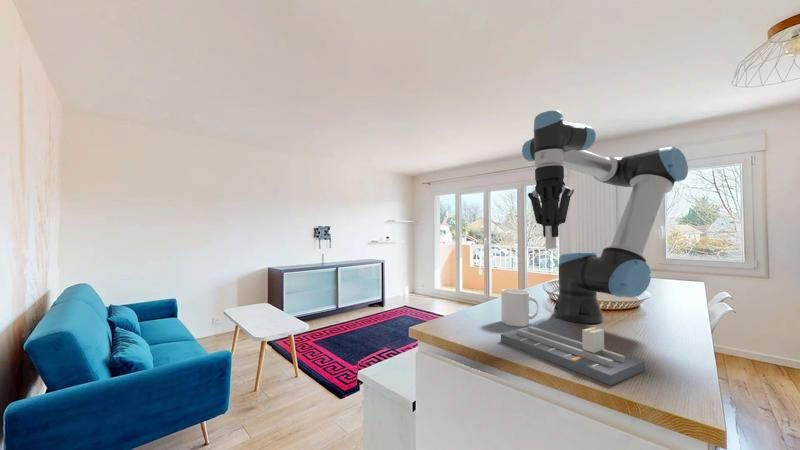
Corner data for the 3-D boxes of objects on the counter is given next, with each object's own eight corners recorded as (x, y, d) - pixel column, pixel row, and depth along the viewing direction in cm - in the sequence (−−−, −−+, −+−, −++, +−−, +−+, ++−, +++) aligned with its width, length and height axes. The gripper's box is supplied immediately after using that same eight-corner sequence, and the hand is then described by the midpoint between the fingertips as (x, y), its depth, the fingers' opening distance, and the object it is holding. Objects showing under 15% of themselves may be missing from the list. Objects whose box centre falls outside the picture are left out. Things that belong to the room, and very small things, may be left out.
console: (533, 333, 92) (533, 322, 92) (644, 370, 68) (644, 355, 68) (500, 341, 85) (500, 329, 85) (610, 385, 61) (610, 369, 61)
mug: (544, 327, 98) (543, 294, 98) (505, 327, 98) (505, 293, 98) (533, 320, 106) (533, 289, 106) (498, 319, 107) (498, 288, 107)
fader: (593, 351, 72) (593, 326, 73) (604, 354, 70) (604, 329, 71) (582, 354, 70) (582, 329, 70) (593, 358, 68) (593, 332, 68)
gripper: (521, 169, 92) (523, 248, 92) (563, 161, 81) (565, 250, 81) (536, 171, 96) (538, 247, 96) (579, 163, 85) (581, 249, 85)
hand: (551, 248), depth 88 cm, fingers closed
